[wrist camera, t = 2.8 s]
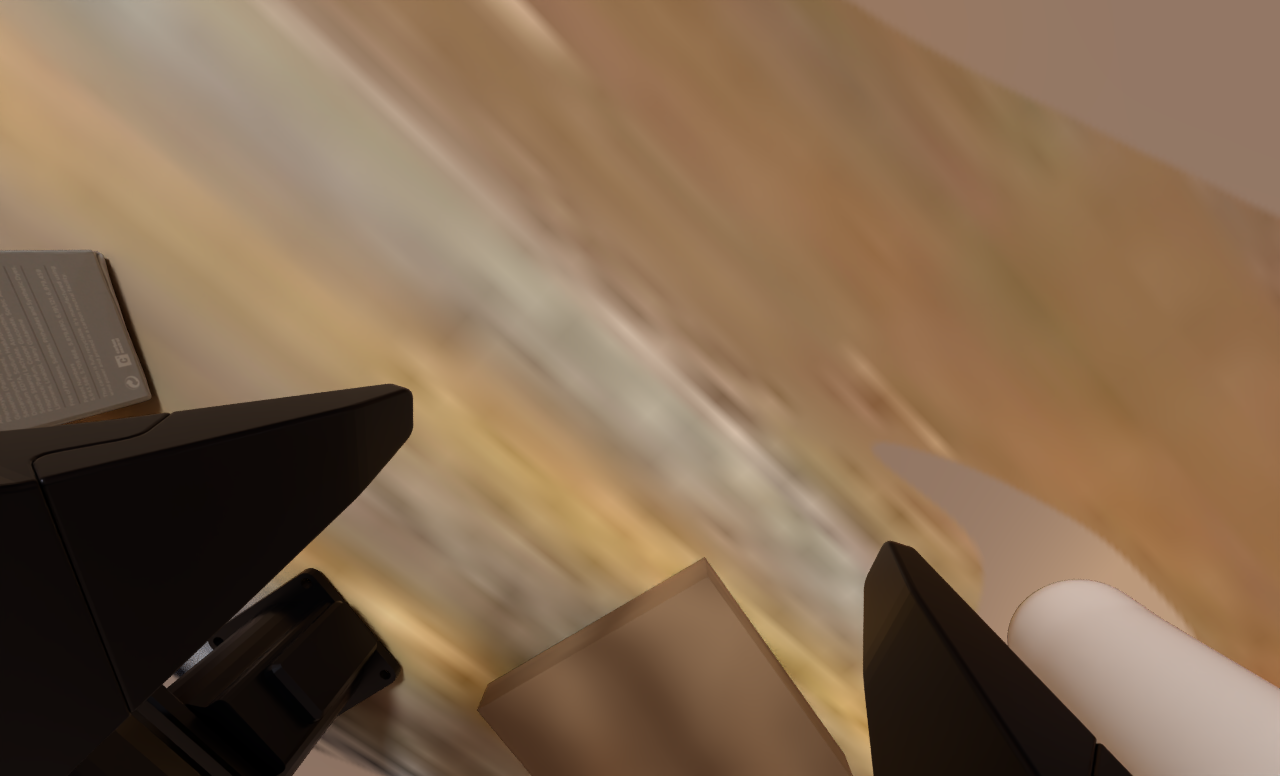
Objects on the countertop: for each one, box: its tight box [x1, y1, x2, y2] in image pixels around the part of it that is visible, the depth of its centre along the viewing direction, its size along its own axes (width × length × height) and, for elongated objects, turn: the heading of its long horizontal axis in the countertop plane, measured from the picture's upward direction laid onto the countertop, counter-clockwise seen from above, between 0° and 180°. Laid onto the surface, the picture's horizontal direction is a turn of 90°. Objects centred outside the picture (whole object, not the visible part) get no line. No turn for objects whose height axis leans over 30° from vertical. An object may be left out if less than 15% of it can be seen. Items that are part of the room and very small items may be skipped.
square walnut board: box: [477, 557, 853, 776], centre depth 23 cm, size 12×12×2 cm
